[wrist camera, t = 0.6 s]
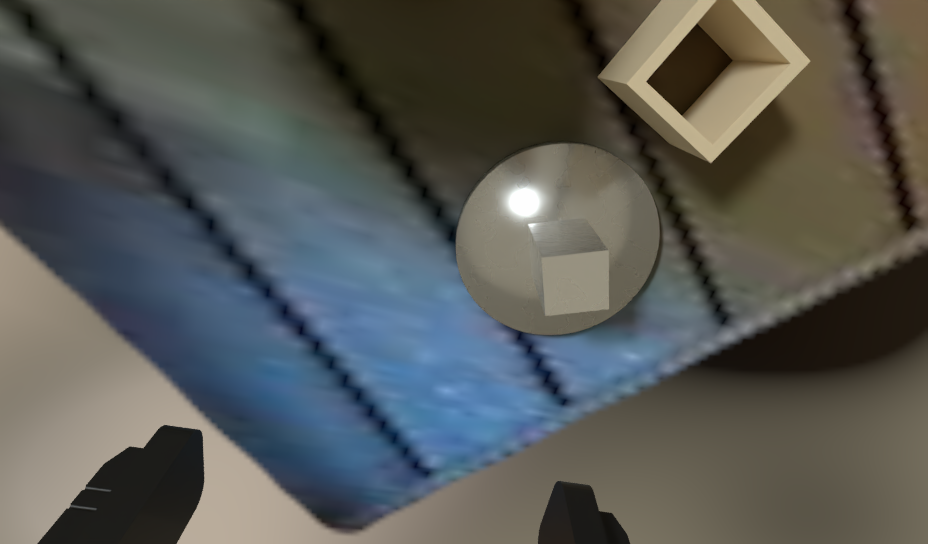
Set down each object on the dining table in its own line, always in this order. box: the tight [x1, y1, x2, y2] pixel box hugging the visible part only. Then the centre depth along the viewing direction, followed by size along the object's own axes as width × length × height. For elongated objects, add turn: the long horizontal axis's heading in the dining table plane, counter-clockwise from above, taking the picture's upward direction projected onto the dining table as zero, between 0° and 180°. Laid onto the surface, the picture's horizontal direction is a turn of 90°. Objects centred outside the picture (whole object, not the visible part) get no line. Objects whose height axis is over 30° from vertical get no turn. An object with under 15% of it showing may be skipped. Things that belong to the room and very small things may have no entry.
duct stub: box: [456, 141, 660, 335], centre depth 33 cm, size 14×14×7 cm
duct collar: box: [598, 0, 810, 163], centre depth 29 cm, size 7×7×6 cm
